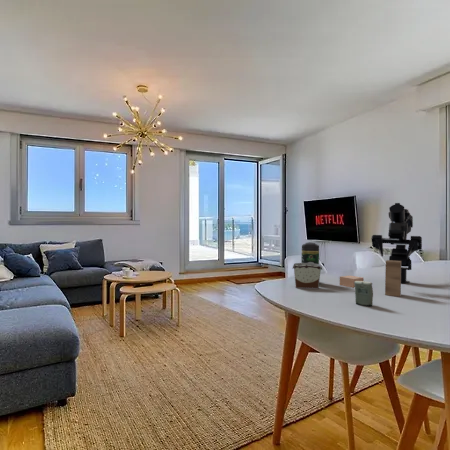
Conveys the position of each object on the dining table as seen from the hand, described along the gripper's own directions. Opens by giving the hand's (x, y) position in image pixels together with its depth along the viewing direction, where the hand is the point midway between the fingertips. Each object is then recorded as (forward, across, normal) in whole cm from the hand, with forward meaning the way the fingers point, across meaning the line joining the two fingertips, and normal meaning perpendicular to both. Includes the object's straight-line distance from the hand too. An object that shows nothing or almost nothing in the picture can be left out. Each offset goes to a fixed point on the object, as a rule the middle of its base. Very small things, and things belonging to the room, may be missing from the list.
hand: (394, 256), depth 135 cm
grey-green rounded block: (+33, -6, -12) cm, 36 cm away
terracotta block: (+8, -17, +12) cm, 22 cm away
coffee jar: (+12, -34, +9) cm, 37 cm away
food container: (+19, -32, +1) cm, 38 cm away
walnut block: (+16, 0, +5) cm, 16 cm away
